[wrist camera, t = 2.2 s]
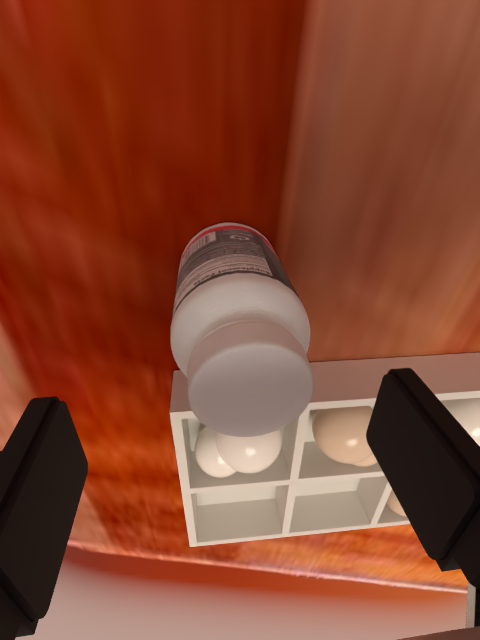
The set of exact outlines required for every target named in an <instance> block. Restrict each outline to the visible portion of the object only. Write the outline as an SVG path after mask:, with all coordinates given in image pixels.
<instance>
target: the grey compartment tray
mask: <svg viewBox="0 0 480 640" xmlns="http://www.w3.org/2000/svg"><path fill="white" fill-rule="evenodd" d="M309 364H310V366H311V369H312V373H313V378H314V391H313V395H312V398H311V400H310V403H309V404H308V406H307V408H306V409H305V410H304V412H303V413H302V414H301V415H300V416H299V417H298V418H297V419H296V420H294V421H293V422H292V423H290V424H288V425H287V426H285V427H283V428H281V430H282V446H281V450H280V453H279V455H278V456H277V458H276V460H275V461H274V462H273V463H272V464H271V465H270V466H269V467H268V468H266V469H264V470H262V471H260V472H257V473H241V472H238V471H237V472H235V473H234V474H232V475H230V476H227V477H222V478H219V477H213V476H210V475H209V474H207V473H205V472H204V471H203V470H202V469H201V468H200V466H199V465H198V463H197V461H196V458H195V450H194V449H195V442H196V439H197V437H198V435H199V433H200V432H201V431H202V430H203V429H204V428H205V427H206V426H205V425H204V424H203V423H201V422H200V421H199V420H198V419H197V417H196V416H195V415H194V413H193V412H192V409H191V407H190V404H189V400H188V380H187V377H186V376H185V375H184V374H183V372H182V371H181V370H176V371H174V374H173V384H172V394H171V404H170V419H171V425H172V432H173V438H174V445H175V451H176V458H177V465H178V471H179V478H180V484H181V491H182V498H183V504H184V511H185V517H186V524H187V531H188V537H189V544H190V547H195V546H204V545H214V544H223V543H233V542H242V541H252V540H261V539H271V538H280V537H290V536H299V535H309V534H318V533H328V532H337V531H347V530H356V529H366V528H375V527H385V526H394V525H404V524H411V523H410V521H409V520H408V518H407V517H405V516H401V515H399V514H397V513H395V512H394V511H392V510H391V509H390V508H389V507H388V505H387V504H386V502H387V500H388V497H389V495H390V493H391V490H392V488H391V486H390V484H389V482H388V480H387V479H386V477H385V475H384V473H383V471H382V469H381V467H380V466H379V464H378V462H377V463H376V464H374V465H371V466H367V467H360V466H355V465H353V464H345V463H340V462H337V461H335V460H333V459H331V458H329V457H328V456H327V455H325V454H324V453H323V452H322V451H321V449H320V448H319V447H318V445H317V444H316V442H315V439H314V437H313V432H312V420H313V416H314V413H315V411H316V409H329V408H343V407H356V406H370V407H371V408H372V409H373V408H374V405H375V401H376V398H377V395H378V391H379V388H380V385H381V381H382V378H383V376H384V375H385V374H387V373H388V371H389V370H390V369H398V368H411V369H412V370H414V371H415V373H416V374H417V375H418V376H419V377H420V378H421V379H422V381H423V382H424V383H425V384H426V385H427V386H428V388H429V389H430V390H431V391H432V392H433V393H434V394H435V396H436V397H437V398H438V399H439V400H453V399H467V398H480V352H477V353H461V354H444V355H427V356H410V357H394V358H377V359H360V360H343V361H327V362H310V363H309Z"/></svg>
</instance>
